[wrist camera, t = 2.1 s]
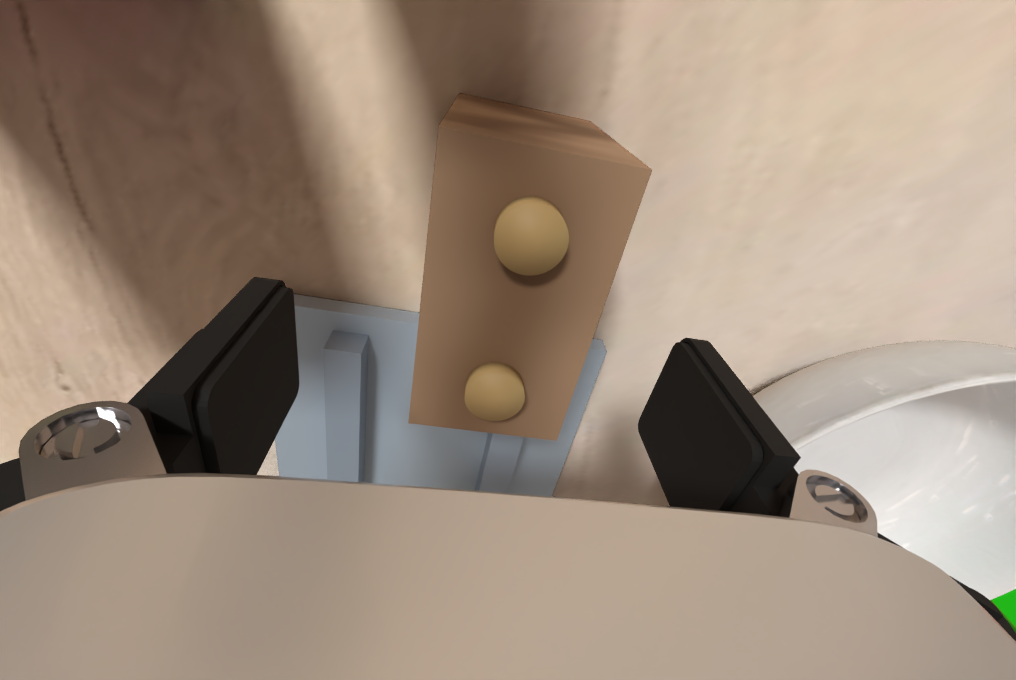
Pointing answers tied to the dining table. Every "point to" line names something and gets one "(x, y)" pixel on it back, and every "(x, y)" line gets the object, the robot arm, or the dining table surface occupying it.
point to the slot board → (399, 412)
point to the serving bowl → (917, 447)
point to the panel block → (517, 264)
